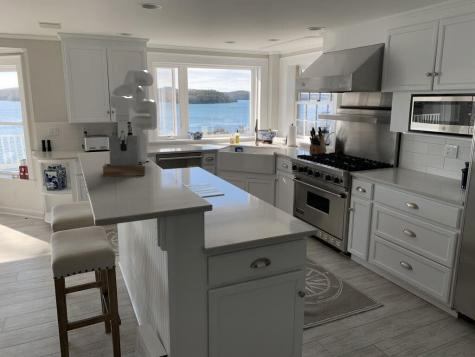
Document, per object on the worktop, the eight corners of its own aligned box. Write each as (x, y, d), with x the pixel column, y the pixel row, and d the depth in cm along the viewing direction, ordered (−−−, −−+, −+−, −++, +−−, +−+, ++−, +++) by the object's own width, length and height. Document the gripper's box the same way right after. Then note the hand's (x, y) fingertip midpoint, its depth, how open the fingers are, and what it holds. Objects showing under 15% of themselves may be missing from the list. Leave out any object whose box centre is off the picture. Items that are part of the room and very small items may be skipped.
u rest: (105, 172, 223) (105, 163, 222) (145, 171, 228) (144, 162, 227) (103, 176, 211) (102, 167, 210) (144, 175, 217) (144, 166, 215)
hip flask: (138, 164, 223) (137, 131, 218) (138, 165, 219) (137, 131, 215) (110, 165, 218) (108, 131, 213) (110, 166, 214) (108, 131, 210)
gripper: (117, 117, 220) (118, 148, 224) (114, 119, 204) (116, 152, 208) (130, 117, 221) (131, 148, 225) (128, 119, 205) (129, 152, 209)
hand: (123, 149), depth 217 cm, fingers closed on hip flask, 4 cm apart
